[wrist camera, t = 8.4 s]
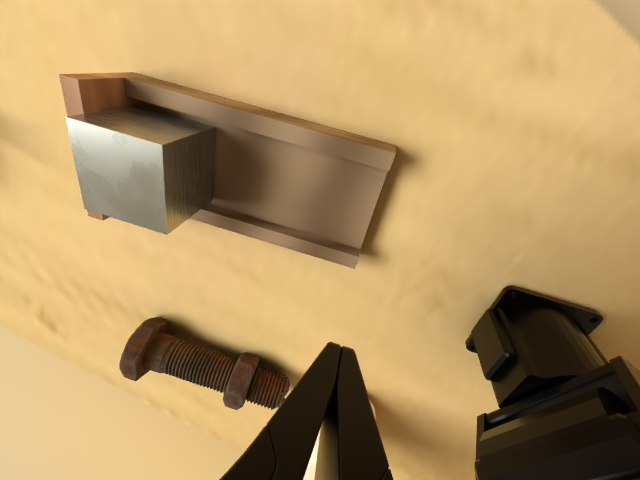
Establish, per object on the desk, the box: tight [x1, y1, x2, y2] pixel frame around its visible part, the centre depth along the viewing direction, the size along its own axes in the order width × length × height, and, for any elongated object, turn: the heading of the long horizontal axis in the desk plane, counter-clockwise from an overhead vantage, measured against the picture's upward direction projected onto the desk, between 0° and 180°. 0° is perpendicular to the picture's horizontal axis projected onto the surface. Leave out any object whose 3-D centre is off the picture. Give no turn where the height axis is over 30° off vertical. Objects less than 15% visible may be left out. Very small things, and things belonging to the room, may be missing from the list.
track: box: [59, 72, 396, 269], centre depth 19 cm, size 17×8×5 cm, turn 77°
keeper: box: [65, 105, 215, 234], centre depth 18 cm, size 5×5×5 cm
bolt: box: [120, 317, 290, 410], centre depth 30 cm, size 6×5×15 cm
